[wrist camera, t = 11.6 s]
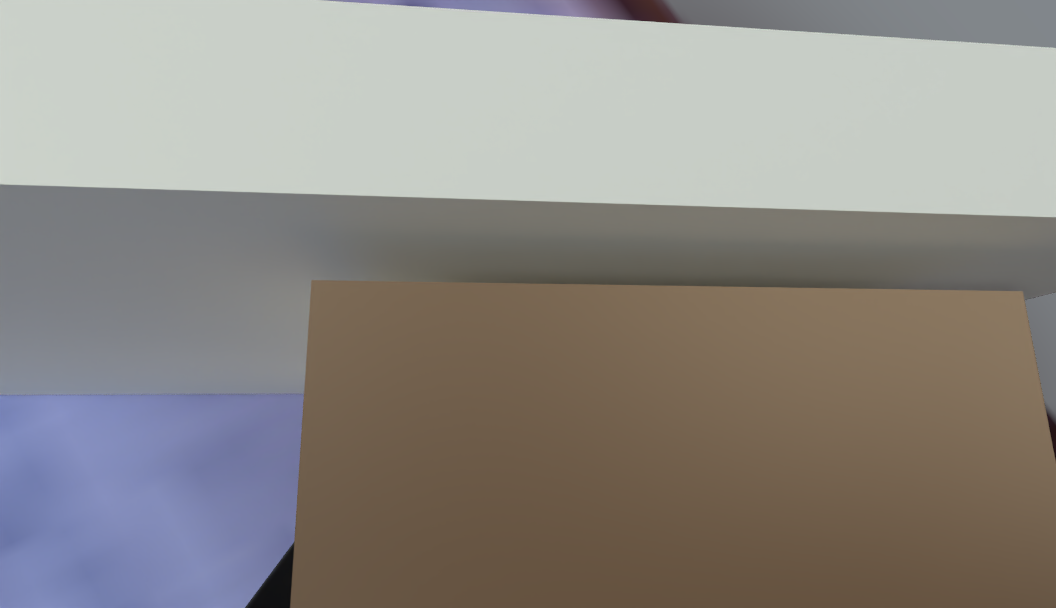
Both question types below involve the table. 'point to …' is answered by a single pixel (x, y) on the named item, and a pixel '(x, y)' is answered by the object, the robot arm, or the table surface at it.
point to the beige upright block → (671, 448)
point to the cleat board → (474, 170)
